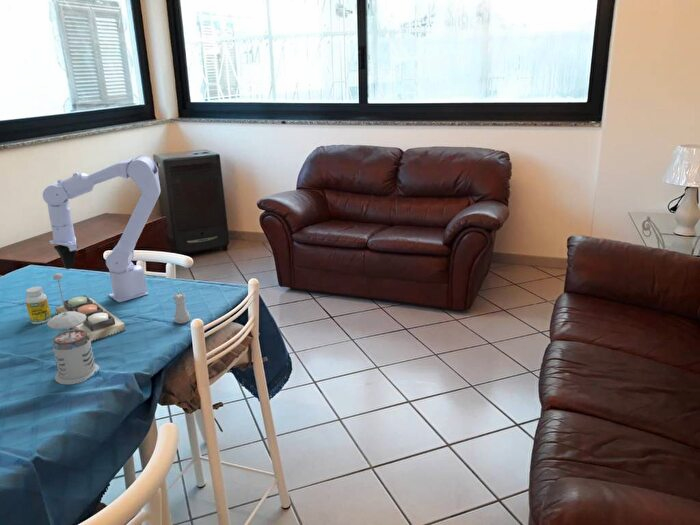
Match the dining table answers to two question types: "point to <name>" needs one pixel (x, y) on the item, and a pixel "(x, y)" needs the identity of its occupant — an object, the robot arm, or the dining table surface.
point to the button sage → (77, 301)
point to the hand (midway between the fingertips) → (69, 268)
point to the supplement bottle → (37, 305)
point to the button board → (98, 328)
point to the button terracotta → (87, 308)
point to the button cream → (97, 317)
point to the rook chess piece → (181, 309)
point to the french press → (77, 359)
